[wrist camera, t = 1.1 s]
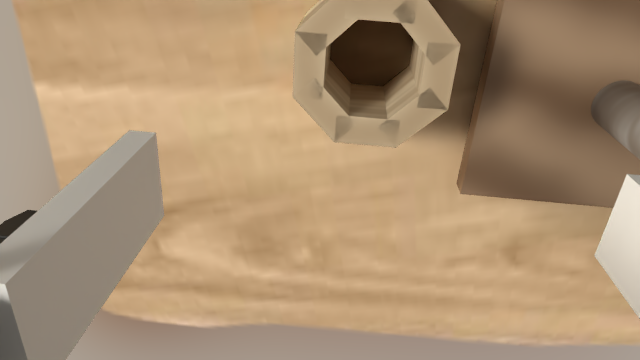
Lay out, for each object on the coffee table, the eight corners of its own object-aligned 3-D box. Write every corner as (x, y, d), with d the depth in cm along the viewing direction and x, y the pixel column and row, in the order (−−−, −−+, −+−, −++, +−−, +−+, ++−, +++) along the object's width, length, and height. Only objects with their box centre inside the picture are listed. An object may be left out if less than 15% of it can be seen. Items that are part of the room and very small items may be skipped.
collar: (309, -31, 28) (297, -21, 23) (450, -21, 28) (470, -8, 23) (302, 103, 32) (290, 138, 27) (426, 113, 32) (439, 151, 27)
